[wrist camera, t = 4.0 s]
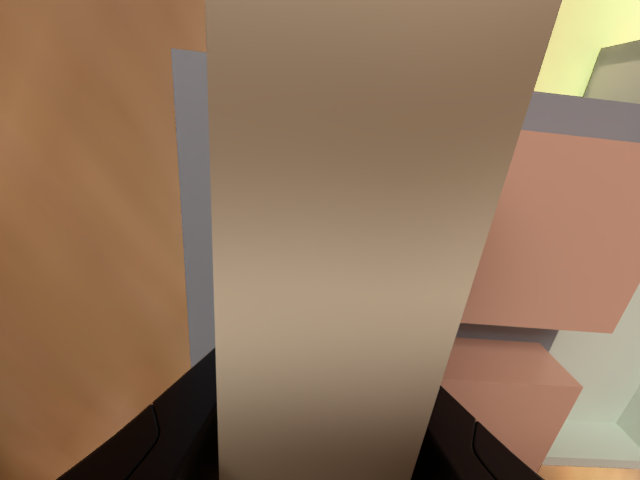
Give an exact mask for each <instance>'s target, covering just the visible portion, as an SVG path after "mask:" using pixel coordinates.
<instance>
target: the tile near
mask: <svg viewBox="0 0 640 480" xmlns="http://www.w3.org/2000/svg"><path fill="white" fill-rule="evenodd" d="M639 283H640V143H636V142H627V141H618V140H609V139H599V138H590V137H581V136H572V135H563V134H554V133H545V132H536V131H527V130H521V132H520V135H519V138H518V141H517V144H516V148H515V151H514V154H513V157H512V160H511V163H510V167H509V170H508V173H507V176H506V179H505V182H504V186H503V189H502V192H501V195H500V198H499V201H498V204H497V208H496V211H495V214H494V217H493V220H492V223H491V227H490V230H489V233H488V236H487V239H486V242H485V246H484V249H483V252H482V255H481V258H480V261H479V265H478V268H477V271H476V274H475V277H474V280H473V284H472V287H471V290H470V293H469V296H468V299H467V303H466V306H465V309H464V312H463V315H462V318H461V322H460V323H469V324H483V325H497V326H511V327H525V328H539V329H554V330H568V331H582V332H596V333H610V334H612V333H613V331H614V330H615V328H616V326H617V324H618V322H619V320H620V319H621V317H622V315H623V313H624V311H625V309H626V307H627V306H628V304H629V302H630V300H631V298H632V296H633V294H634V293H635V291H636V289H637V287H638V285H639Z"/></svg>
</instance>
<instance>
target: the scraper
mask: <svg viewBox="0 0 640 480" xmlns="http://www.w3.org/2000/svg"><path fill="white" fill-rule="evenodd" d="M561 2H562V0H205V14H206V48H207V82H208V115H209V149H210V183H211V217H212V251H213V284H214V318H215V352H216V386H217V419H218V453H219V480H411V477H412V473H413V470H414V467H415V464H416V461H417V458H418V454H419V451H420V448H421V445H422V442H423V439H424V435H425V432H426V429H427V426H428V423H429V420H430V416H431V413H432V410H433V407H434V404H435V401H436V398H437V394H438V391H439V388H440V385H441V382H442V379H443V375H444V372H445V369H446V366H447V363H448V360H449V356H450V353H451V350H452V347H453V344H454V341H455V337H456V334H457V331H458V328H459V325H460V322H461V318H462V315H463V312H464V309H465V306H466V303H467V299H468V296H469V293H470V290H471V287H472V284H473V280H474V277H475V274H476V271H477V268H478V265H479V261H480V258H481V255H482V252H483V249H484V246H485V242H486V239H487V236H488V233H489V230H490V227H491V223H492V220H493V217H494V214H495V211H496V208H497V204H498V201H499V198H500V195H501V192H502V189H503V186H504V182H505V179H506V176H507V173H508V170H509V167H510V163H511V160H512V157H513V154H514V151H515V148H516V144H517V141H518V138H519V135H520V132H521V129H522V125H523V122H524V119H525V116H526V113H527V110H528V106H529V103H530V100H531V97H532V94H533V91H534V87H535V84H536V81H537V78H538V75H539V72H540V68H541V65H542V62H543V59H544V56H545V53H546V49H547V46H548V43H549V40H550V37H551V34H552V30H553V27H554V24H555V21H556V18H557V15H558V11H559V8H560V5H561Z"/></svg>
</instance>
